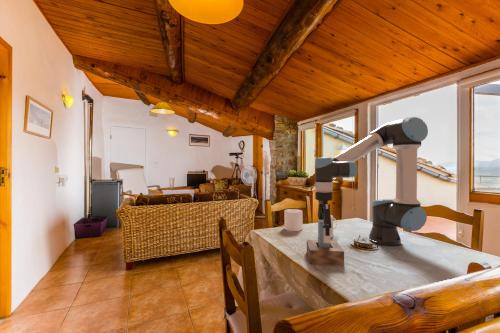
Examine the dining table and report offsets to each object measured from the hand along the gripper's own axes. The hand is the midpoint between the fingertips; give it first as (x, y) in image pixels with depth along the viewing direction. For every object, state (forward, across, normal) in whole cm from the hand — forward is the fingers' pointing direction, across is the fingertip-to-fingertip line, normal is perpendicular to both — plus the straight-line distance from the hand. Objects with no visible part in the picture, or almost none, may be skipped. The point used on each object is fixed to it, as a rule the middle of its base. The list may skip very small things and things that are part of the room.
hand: (324, 237), depth 108 cm
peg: (+9, 0, 0) cm, 9 cm away
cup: (+10, -48, -11) cm, 50 cm away
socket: (+9, 0, 0) cm, 9 cm away
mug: (+10, -35, +9) cm, 37 cm away
